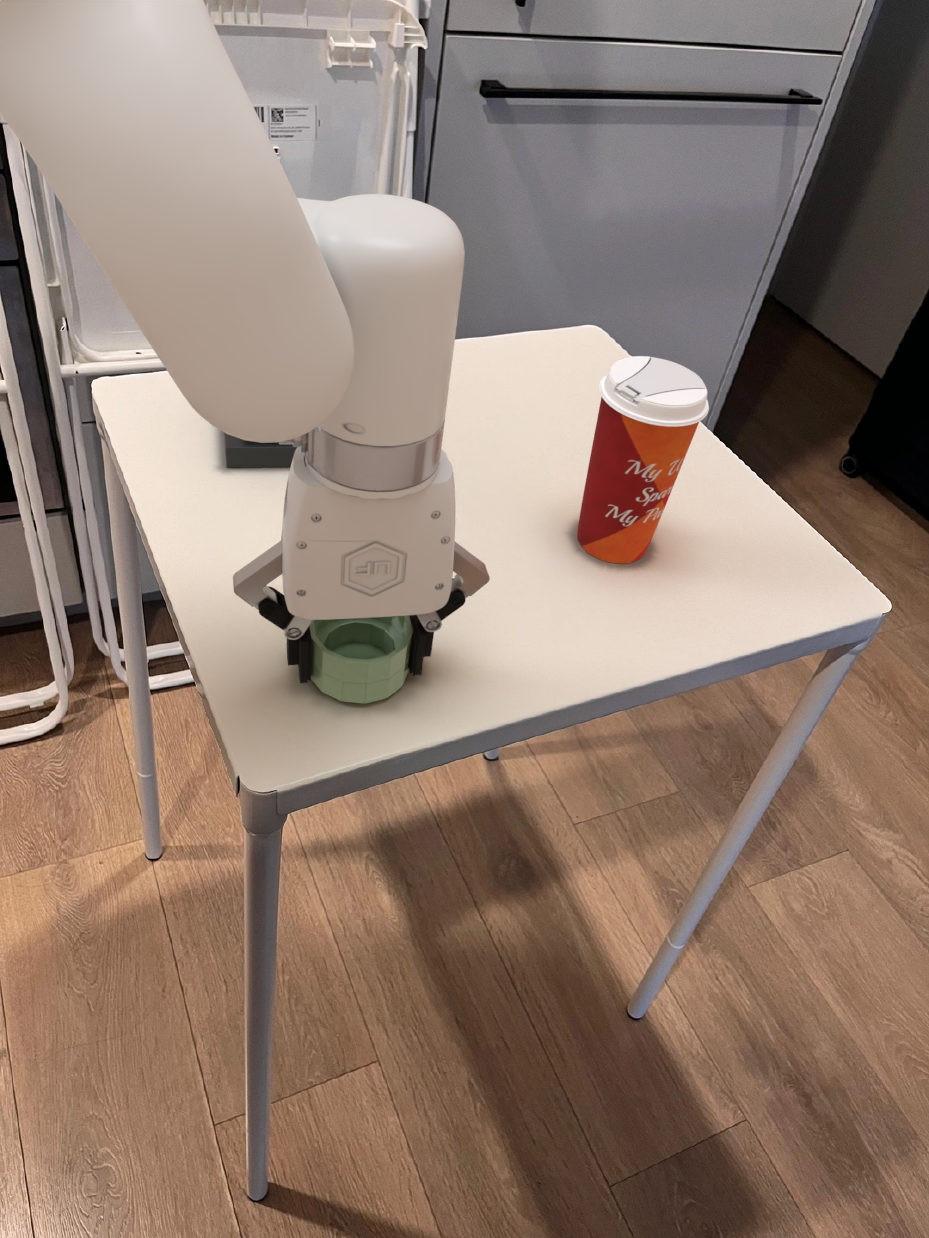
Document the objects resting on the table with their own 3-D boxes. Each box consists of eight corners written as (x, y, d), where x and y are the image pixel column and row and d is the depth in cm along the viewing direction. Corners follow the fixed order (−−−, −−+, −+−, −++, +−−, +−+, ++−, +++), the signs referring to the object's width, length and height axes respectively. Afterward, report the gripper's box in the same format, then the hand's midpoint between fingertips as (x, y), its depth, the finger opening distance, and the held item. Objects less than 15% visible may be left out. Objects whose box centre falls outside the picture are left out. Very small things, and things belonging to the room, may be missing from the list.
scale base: (226, 468, 80) (225, 444, 79) (222, 394, 89) (221, 372, 87) (390, 465, 83) (392, 443, 82) (371, 395, 92) (372, 374, 90)
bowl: (313, 711, 62) (314, 666, 59) (304, 638, 66) (304, 593, 64) (414, 704, 63) (420, 660, 60) (398, 633, 68) (403, 589, 65)
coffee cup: (615, 585, 75) (666, 420, 65) (542, 531, 79) (580, 367, 69) (681, 550, 80) (738, 390, 69) (609, 500, 84) (653, 342, 74)
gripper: (213, 481, 48) (228, 715, 60) (541, 475, 52) (494, 696, 64) (210, 403, 53) (225, 633, 65) (508, 403, 57) (470, 620, 69)
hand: (358, 662), depth 64 cm, fingers closed on bowl, 6 cm apart
